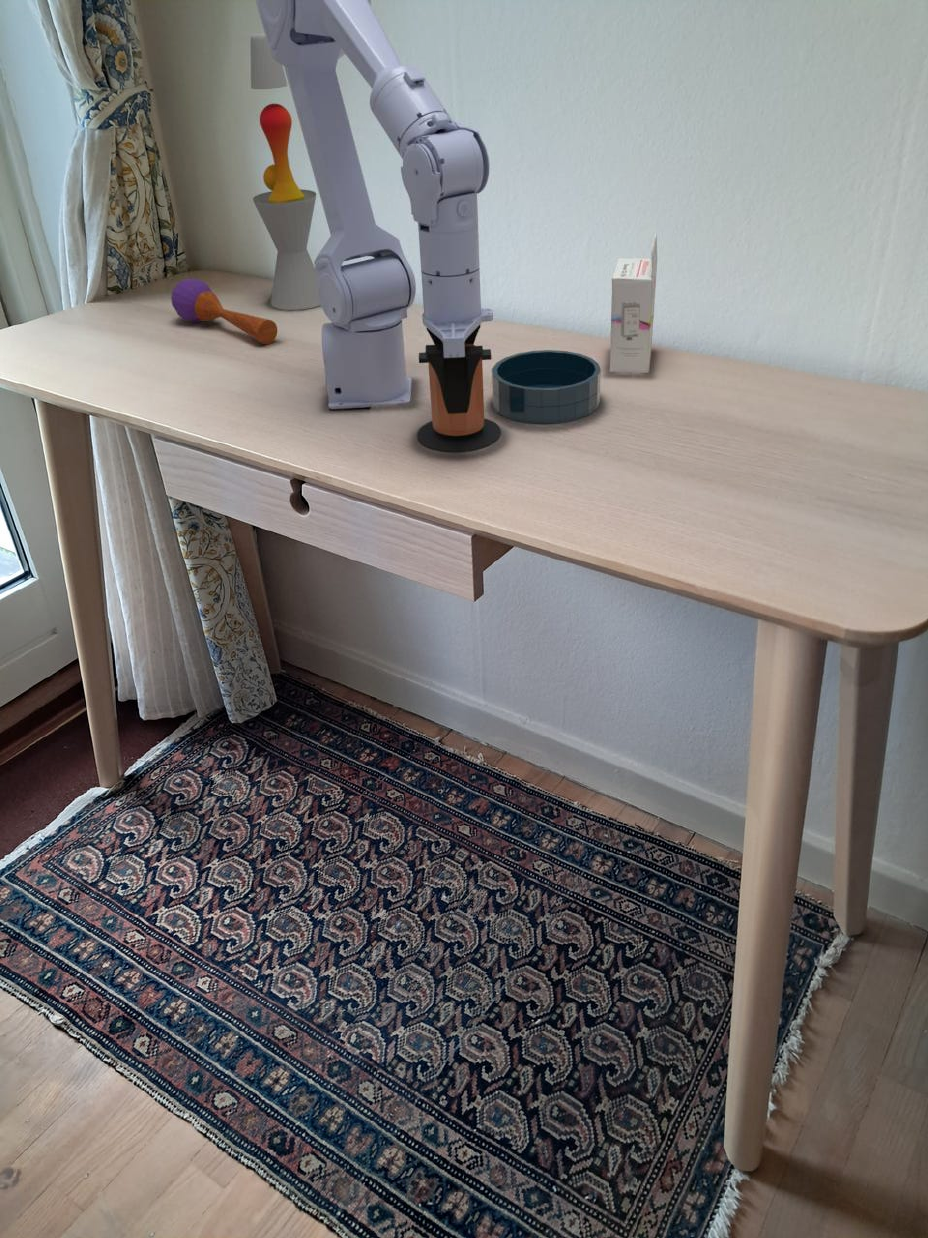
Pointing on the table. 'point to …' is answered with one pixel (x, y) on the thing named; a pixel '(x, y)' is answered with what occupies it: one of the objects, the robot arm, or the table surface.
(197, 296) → the maraca
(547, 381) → the blue shallow round container
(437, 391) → the small pot
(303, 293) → the lava lamp
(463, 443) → the disc
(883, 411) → the table surface
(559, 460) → the table surface
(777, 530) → the table surface
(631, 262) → the ink cartridge box
